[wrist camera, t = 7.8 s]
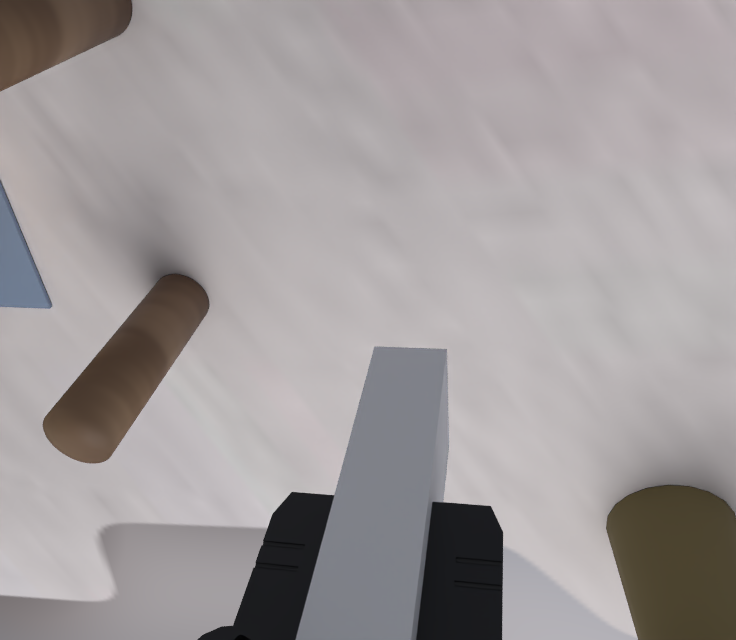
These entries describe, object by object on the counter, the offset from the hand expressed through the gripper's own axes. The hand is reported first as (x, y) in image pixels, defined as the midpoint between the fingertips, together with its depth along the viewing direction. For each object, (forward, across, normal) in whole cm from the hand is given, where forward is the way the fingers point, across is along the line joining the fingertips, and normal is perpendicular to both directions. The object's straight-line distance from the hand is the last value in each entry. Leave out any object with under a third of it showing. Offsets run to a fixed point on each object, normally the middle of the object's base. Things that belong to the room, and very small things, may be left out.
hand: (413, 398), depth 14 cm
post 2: (+13, -12, -6) cm, 19 cm away
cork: (+13, +10, -19) cm, 25 cm away
